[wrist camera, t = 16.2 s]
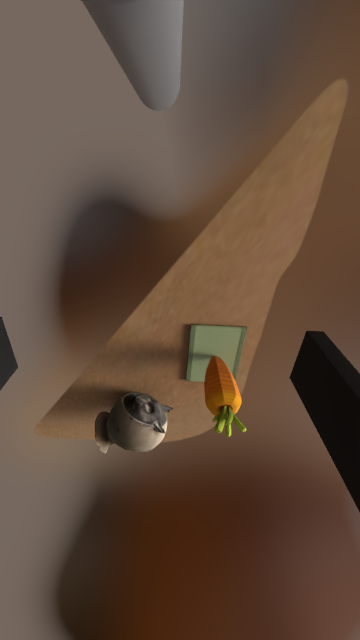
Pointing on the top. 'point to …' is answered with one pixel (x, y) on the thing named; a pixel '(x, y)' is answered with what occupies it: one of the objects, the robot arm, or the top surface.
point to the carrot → (222, 395)
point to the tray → (213, 348)
